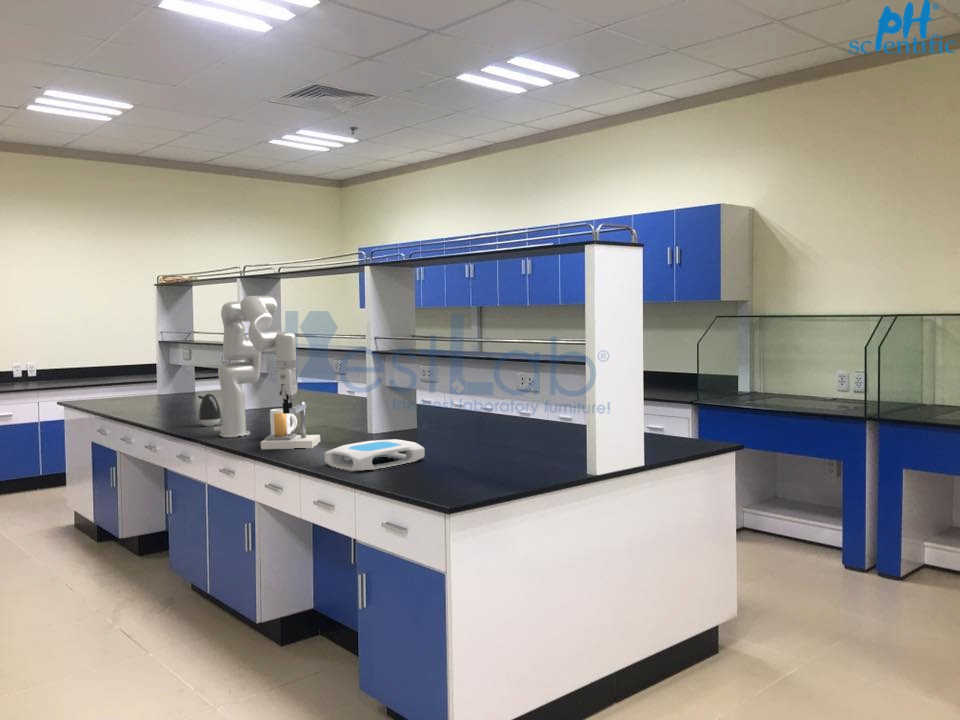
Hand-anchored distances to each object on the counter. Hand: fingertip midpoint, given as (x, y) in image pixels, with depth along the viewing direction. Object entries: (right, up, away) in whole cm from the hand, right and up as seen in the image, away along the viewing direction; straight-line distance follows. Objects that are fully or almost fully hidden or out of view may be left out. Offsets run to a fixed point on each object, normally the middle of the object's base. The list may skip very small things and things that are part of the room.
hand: (287, 413), depth 299 cm
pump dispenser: (-54, -11, +72) cm, 91 cm away
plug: (-6, -11, +11) cm, 17 cm away
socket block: (-1, -14, +12) cm, 18 cm away
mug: (-9, -13, +33) cm, 36 cm away
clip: (+3, -11, +5) cm, 12 cm away
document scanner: (+37, -16, -27) cm, 48 cm away
